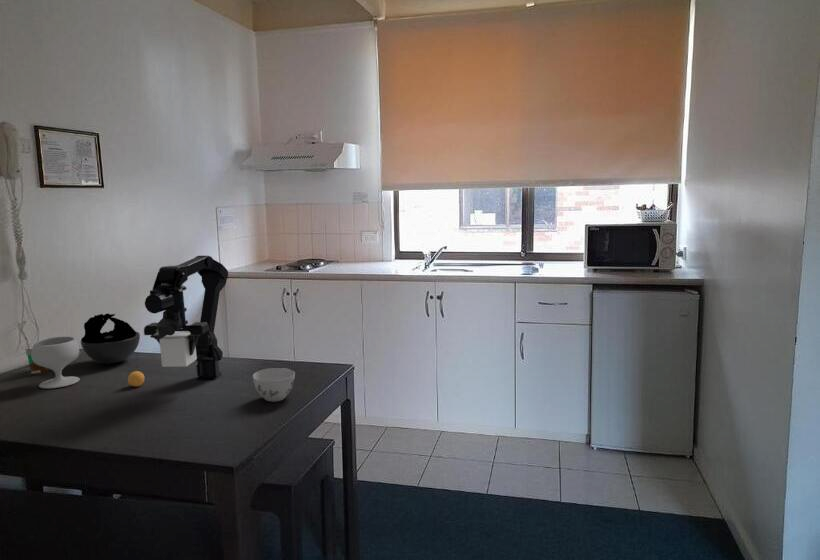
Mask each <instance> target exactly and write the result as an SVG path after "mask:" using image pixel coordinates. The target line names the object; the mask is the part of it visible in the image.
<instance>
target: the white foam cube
mask: <svg viewBox="0 0 820 560" xmlns="http://www.w3.org/2000/svg"><path fill="white" fill-rule="evenodd" d="M188 335H190V332H175V333H174V334H173V335H166V336H164V337H163V338H161V339H159V340H160V344H159V347H160V359H161V367H162V368H163V367H164V368H165V367H167V368H170V367H171V368H172V367H173V368H174V367H175V368H176V367H183V368H184V367H188V366H189V365H190V364H192V363H193V362H196V361H195V360H197V356H196V346H195V349H194V352H193V355H190V350H189V339H188V337H187V336H188Z"/></svg>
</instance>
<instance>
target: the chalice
mask: <svg viewBox="0 0 820 560" xmlns="http://www.w3.org/2000/svg"><path fill="white" fill-rule="evenodd" d="M31 349H32V353H31V357H32V360H33V362H34V363H35V364H37V365H39V366H43V367H46V368H49V369H51V370H53V372H54V374H55V377H54V378H51V379H46V380H44V381H43V382H41V383H40V384H39V385H38V387H39V388H40V389H59V388H64V387H68V386H71V385H74V384H76V383H78V382H80V381H81V379H80V378H79V377H78V376H72V375H70V376H63V374H62V373H63V369H64V368H65V367H67V366H68V365H70V364H71V363H72V362H74V361H75V360H76V359H77V358H78V357H79V355H80V347H79V343H78V341H77V340H76V339H75V338H74V337H73V336H57V337H55V336H54V337H50V338H45V339H41V340H37V341H35V342H34V343H33V346H32V348H31Z"/></svg>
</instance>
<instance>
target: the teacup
mask: <svg viewBox="0 0 820 560" xmlns="http://www.w3.org/2000/svg"><path fill="white" fill-rule="evenodd" d="M295 376H296V372H295V371H294V370H292V369H291V368H286V367H282V368H279V367H276V368H273V367H270V368H269V367H268V368H264V369H261V370H258V371H255V372H254V373H253V374H252V379H253V384H254V386H255V389H256V391H257V393H258V394H259V395H260V396H261V397H262V398H263V399H264V400H265V401H267V402H281V401H283V400H284V399H285V398H286V397H287V396H288V394H290V392H291V390H292V389H293V386H294V382H295Z"/></svg>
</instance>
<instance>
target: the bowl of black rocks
mask: <svg viewBox="0 0 820 560" xmlns="http://www.w3.org/2000/svg"><path fill="white" fill-rule="evenodd" d="M115 316H116V313H112V314H110V313H105V314H103V313H100V314H97V315H93V317H92V316H91V317H89V318H88V320H86V321H85V322H84V324H83V328H84V336H83V337H82V338H81V340H80V345H81V349H82V350H83V352H84V353H85V354H86V355H87V356H88V358H90V359H91V360H93V361H95V362H97V363H99V364H105V365H106V364H107V365H111V364H117V363H120V362H123V361H125V360H127V359H128V358H129V357H131V356H132V355H133V353H134V352H135V351H136V350H137V347H138V346H139V343H140V340H141V339H140V338H141V337H140V336H141V335H140V332H138V331H136V329H134V328H133V327H132V326H131V325H130V324H129V323H128V322H127V321H124V320H122V319H119V318H118V317H117V318H116V317H115ZM109 320H110V321H111V322H113V324H114V325H113V329H112V330H109V331H104V332H101V331H102V329H103V327H104V326H105V324H106V323H107V322H108V321H109Z"/></svg>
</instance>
